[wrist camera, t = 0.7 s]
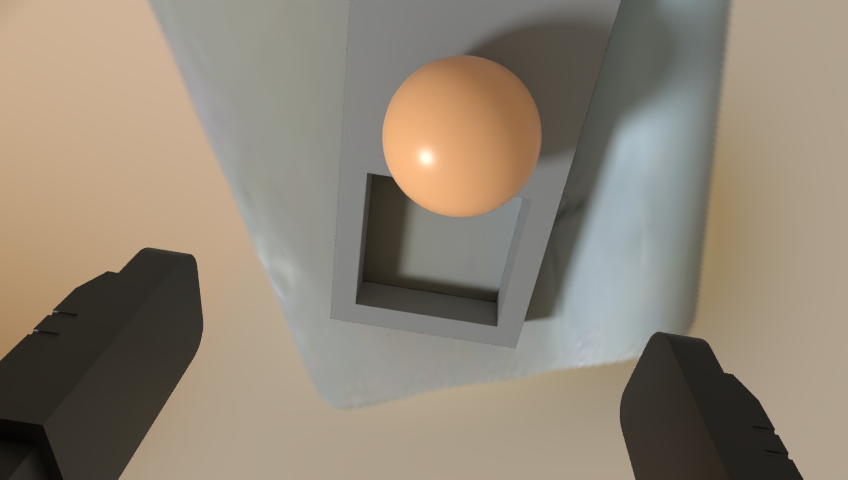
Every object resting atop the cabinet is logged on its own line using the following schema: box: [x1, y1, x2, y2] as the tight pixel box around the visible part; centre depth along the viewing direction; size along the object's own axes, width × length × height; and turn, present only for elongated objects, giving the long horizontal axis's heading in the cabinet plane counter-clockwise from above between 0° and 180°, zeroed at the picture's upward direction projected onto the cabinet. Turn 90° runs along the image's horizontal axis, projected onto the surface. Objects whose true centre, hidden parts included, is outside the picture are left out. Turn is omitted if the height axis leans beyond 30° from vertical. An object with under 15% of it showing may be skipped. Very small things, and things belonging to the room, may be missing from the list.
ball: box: [382, 55, 542, 217], centre depth 24 cm, size 7×7×7 cm
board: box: [330, 0, 621, 348], centre depth 29 cm, size 24×12×2 cm, turn 172°
